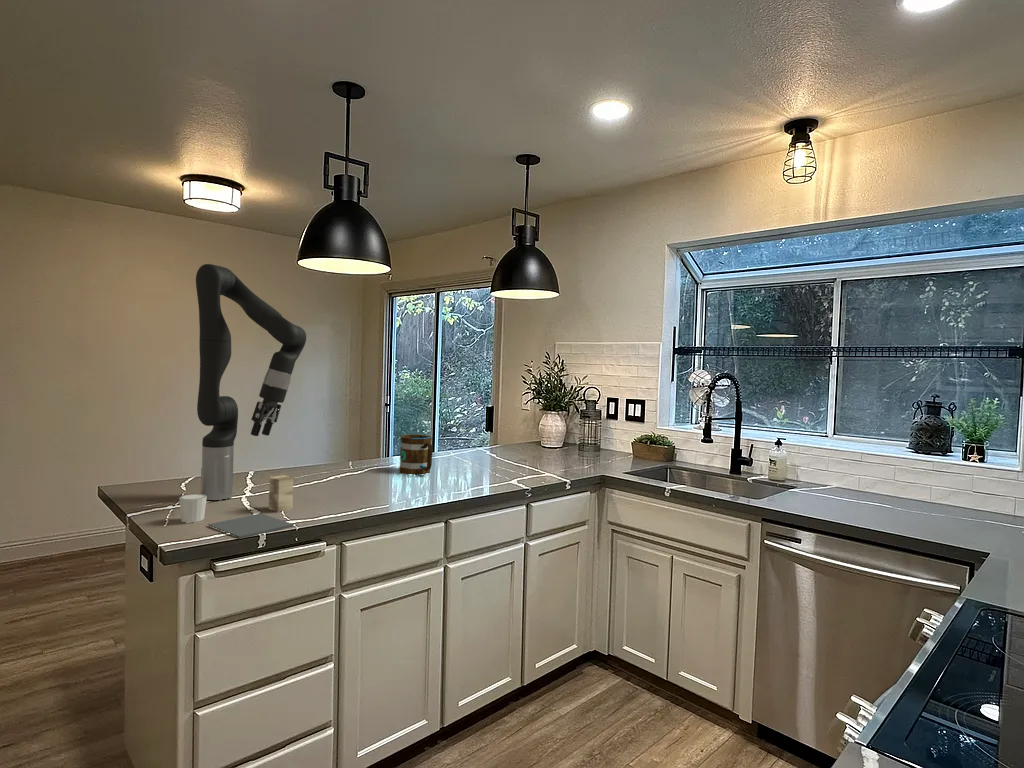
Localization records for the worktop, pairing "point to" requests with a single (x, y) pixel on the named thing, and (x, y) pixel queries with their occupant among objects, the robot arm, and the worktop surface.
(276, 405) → the robot arm
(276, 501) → the birch block
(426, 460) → the mug
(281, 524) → the slate mat
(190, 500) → the white tapered cup
